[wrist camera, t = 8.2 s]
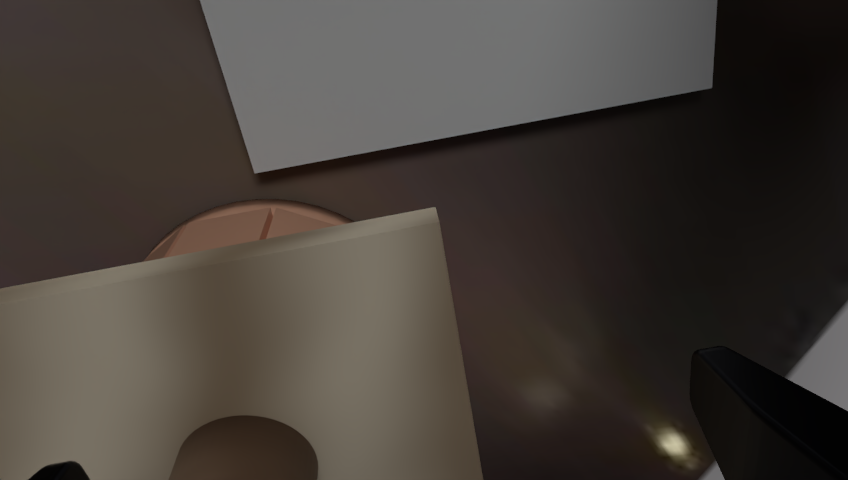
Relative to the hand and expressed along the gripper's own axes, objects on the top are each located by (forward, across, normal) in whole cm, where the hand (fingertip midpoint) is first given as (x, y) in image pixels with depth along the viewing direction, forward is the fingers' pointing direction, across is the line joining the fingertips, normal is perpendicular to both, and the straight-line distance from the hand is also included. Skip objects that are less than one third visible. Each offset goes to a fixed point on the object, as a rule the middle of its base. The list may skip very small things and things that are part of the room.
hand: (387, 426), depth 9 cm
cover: (+6, +5, +6) cm, 9 cm away
